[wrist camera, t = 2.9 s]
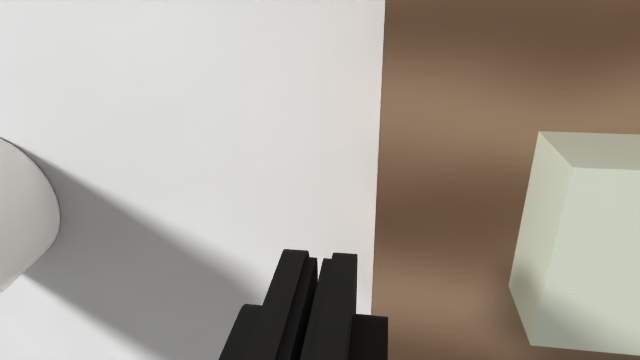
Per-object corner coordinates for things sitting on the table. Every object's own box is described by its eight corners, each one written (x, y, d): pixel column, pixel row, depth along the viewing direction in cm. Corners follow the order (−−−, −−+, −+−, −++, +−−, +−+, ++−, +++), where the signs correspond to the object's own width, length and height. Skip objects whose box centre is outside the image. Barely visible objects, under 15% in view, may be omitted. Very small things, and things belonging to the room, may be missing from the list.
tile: (686, 299, 16) (745, 365, 13) (508, 286, 17) (530, 345, 14) (750, 138, 14) (839, 179, 11) (538, 131, 14) (572, 167, 12)
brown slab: (776, 334, 23) (896, 447, 17) (373, 300, 25) (367, 387, 20) (990, -79, 15) (1316, -108, 10) (390, -65, 18) (389, -82, 13)
